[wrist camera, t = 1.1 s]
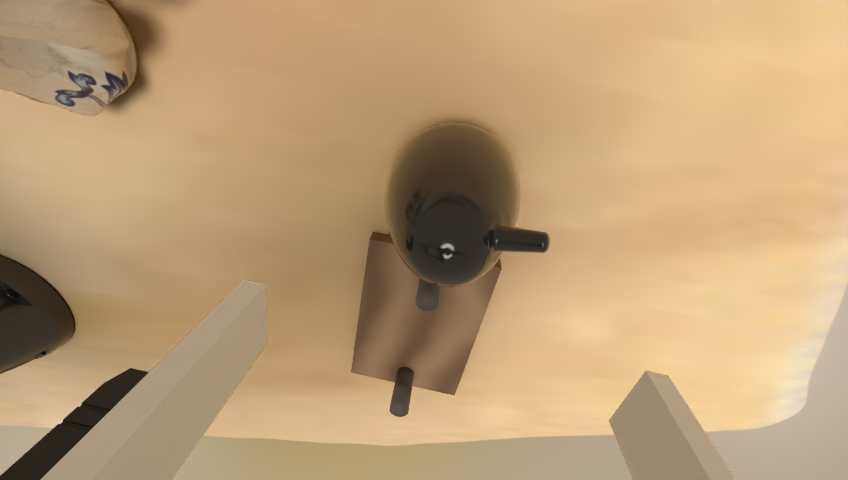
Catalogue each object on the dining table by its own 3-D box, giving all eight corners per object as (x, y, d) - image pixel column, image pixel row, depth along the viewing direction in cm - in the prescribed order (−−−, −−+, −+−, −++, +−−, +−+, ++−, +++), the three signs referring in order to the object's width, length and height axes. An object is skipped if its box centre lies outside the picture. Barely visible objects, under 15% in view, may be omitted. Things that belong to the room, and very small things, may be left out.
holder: (354, 362, 43) (338, 409, 37) (373, 232, 34) (355, 266, 28) (454, 385, 43) (453, 434, 37) (499, 260, 34) (507, 300, 28)
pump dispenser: (515, 220, 32) (554, 334, 19) (408, 231, 34) (372, 343, 20) (511, 106, 27) (558, 148, 14) (387, 125, 29) (323, 178, 16)
